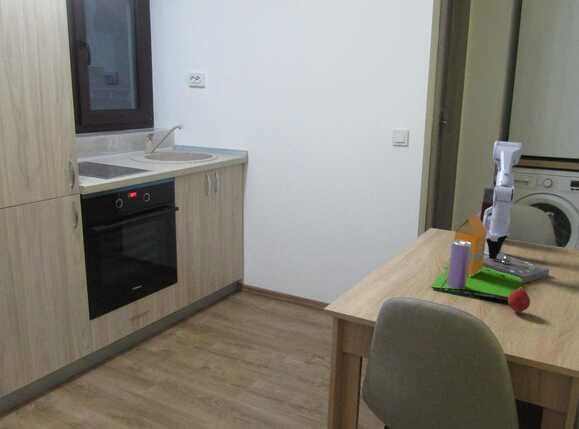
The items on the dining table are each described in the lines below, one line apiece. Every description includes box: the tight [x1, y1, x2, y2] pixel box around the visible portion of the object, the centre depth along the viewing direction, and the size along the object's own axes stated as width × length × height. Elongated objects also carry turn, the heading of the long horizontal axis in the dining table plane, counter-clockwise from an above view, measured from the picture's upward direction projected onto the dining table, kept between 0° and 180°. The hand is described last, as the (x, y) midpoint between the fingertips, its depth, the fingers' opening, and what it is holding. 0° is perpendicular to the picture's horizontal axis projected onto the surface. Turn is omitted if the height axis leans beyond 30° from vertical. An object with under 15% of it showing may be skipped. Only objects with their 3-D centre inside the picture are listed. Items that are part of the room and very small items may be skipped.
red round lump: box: [507, 286, 531, 314], centre depth 152 cm, size 6×6×8 cm
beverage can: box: [446, 239, 472, 291], centre depth 169 cm, size 6×6×15 cm
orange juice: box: [454, 214, 487, 275], centre depth 184 cm, size 8×9×20 cm
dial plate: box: [482, 254, 550, 284], centre depth 189 cm, size 19×16×3 cm
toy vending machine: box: [479, 175, 512, 223], centre depth 226 cm, size 9×11×28 cm
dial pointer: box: [491, 254, 532, 268], centre depth 188 cm, size 14×4×4 cm, turn 55°
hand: (494, 256), depth 191 cm, fingers open, 7 cm apart
